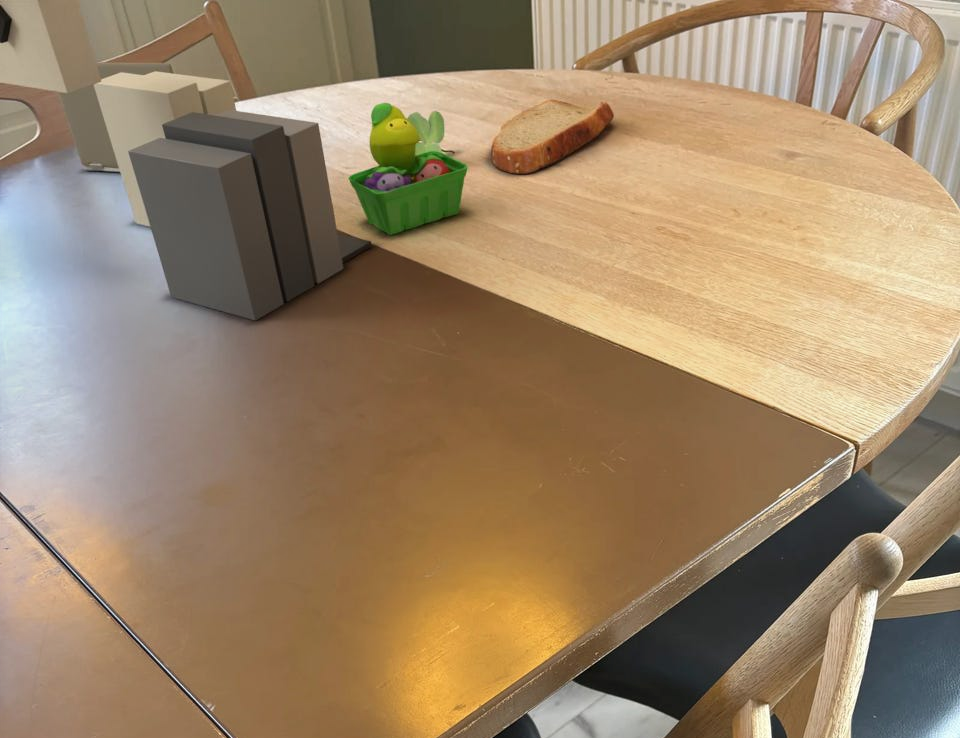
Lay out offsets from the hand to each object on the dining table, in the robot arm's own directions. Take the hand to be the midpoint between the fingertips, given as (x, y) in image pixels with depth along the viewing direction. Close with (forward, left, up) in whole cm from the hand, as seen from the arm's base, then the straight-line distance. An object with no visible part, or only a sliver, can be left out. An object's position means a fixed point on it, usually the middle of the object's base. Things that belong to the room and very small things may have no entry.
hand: (27, 24), depth 94 cm
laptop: (-7, +35, -23) cm, 43 cm away
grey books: (+20, -2, -23) cm, 30 cm away
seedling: (+31, +29, -23) cm, 49 cm away
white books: (+7, +16, -23) cm, 29 cm away
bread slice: (+45, +35, -23) cm, 62 cm away
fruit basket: (+31, +12, -23) cm, 41 cm away
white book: (0, 0, -5) cm, 5 cm away
